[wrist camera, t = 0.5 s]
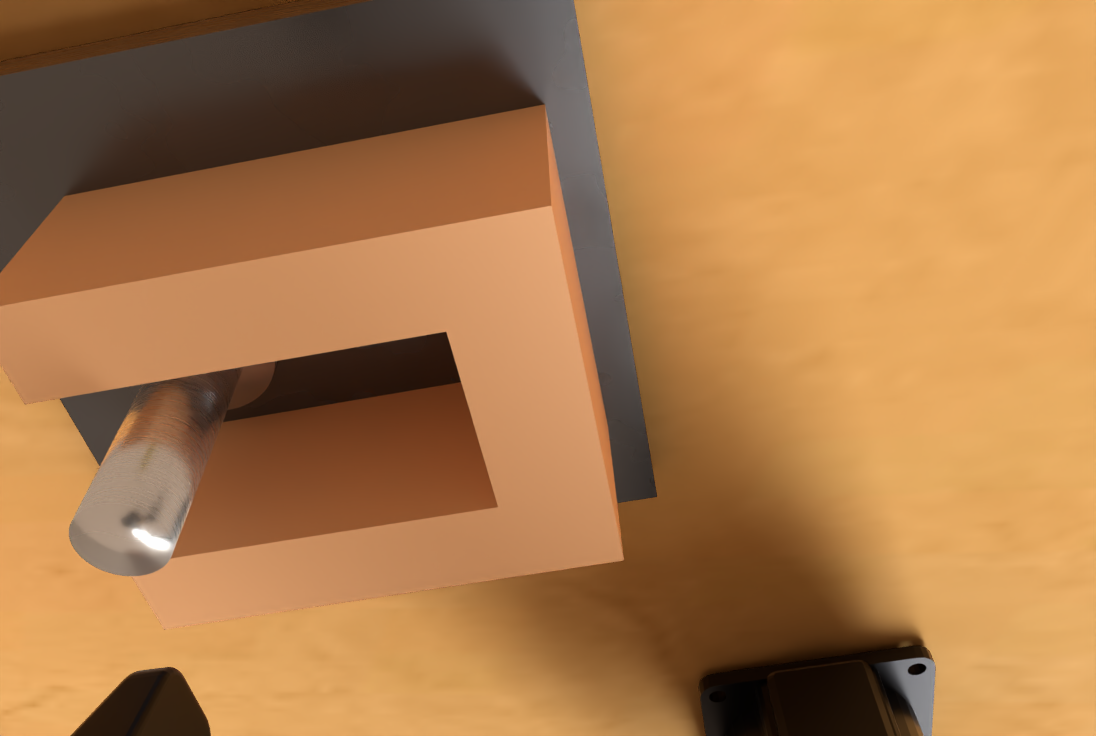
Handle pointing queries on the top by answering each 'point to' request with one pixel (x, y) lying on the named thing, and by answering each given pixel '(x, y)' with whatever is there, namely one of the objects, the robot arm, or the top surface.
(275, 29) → the peg stand
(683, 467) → the top surface
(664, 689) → the top surface
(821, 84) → the top surface
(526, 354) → the c link
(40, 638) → the top surface
